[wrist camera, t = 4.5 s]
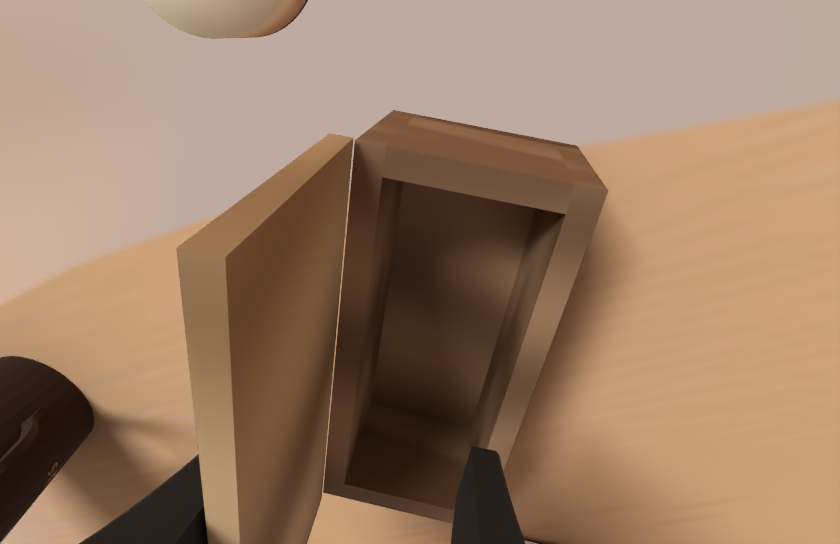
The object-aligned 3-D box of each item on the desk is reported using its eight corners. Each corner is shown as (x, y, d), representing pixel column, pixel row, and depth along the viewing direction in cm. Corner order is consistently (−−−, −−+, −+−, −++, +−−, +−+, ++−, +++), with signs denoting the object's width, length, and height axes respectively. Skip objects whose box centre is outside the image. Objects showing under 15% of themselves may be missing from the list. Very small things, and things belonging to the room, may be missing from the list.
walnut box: (484, 432, 22) (481, 530, 18) (356, 403, 23) (323, 492, 18) (576, 145, 16) (608, 190, 11) (393, 110, 16) (355, 140, 12)
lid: (249, 724, 12) (227, 719, 12) (321, 498, 18) (306, 495, 18) (225, 257, 6) (176, 247, 6) (353, 138, 11) (329, 133, 11)
